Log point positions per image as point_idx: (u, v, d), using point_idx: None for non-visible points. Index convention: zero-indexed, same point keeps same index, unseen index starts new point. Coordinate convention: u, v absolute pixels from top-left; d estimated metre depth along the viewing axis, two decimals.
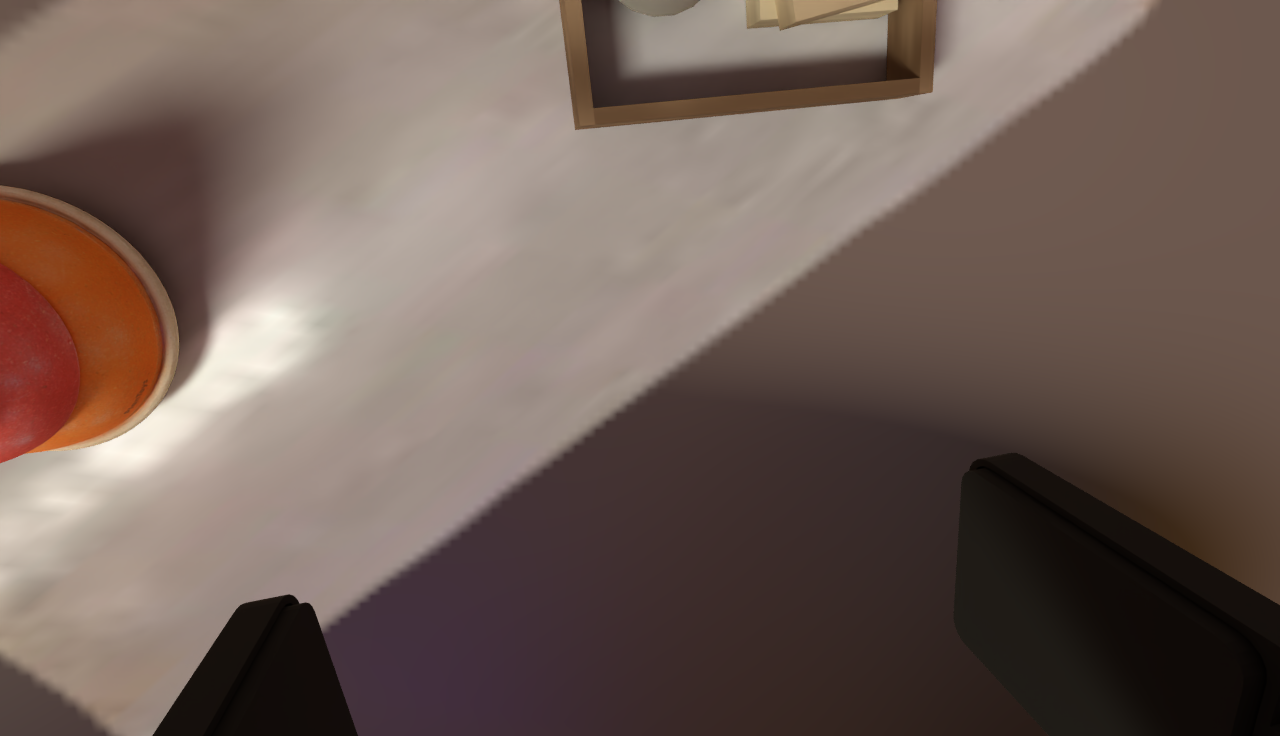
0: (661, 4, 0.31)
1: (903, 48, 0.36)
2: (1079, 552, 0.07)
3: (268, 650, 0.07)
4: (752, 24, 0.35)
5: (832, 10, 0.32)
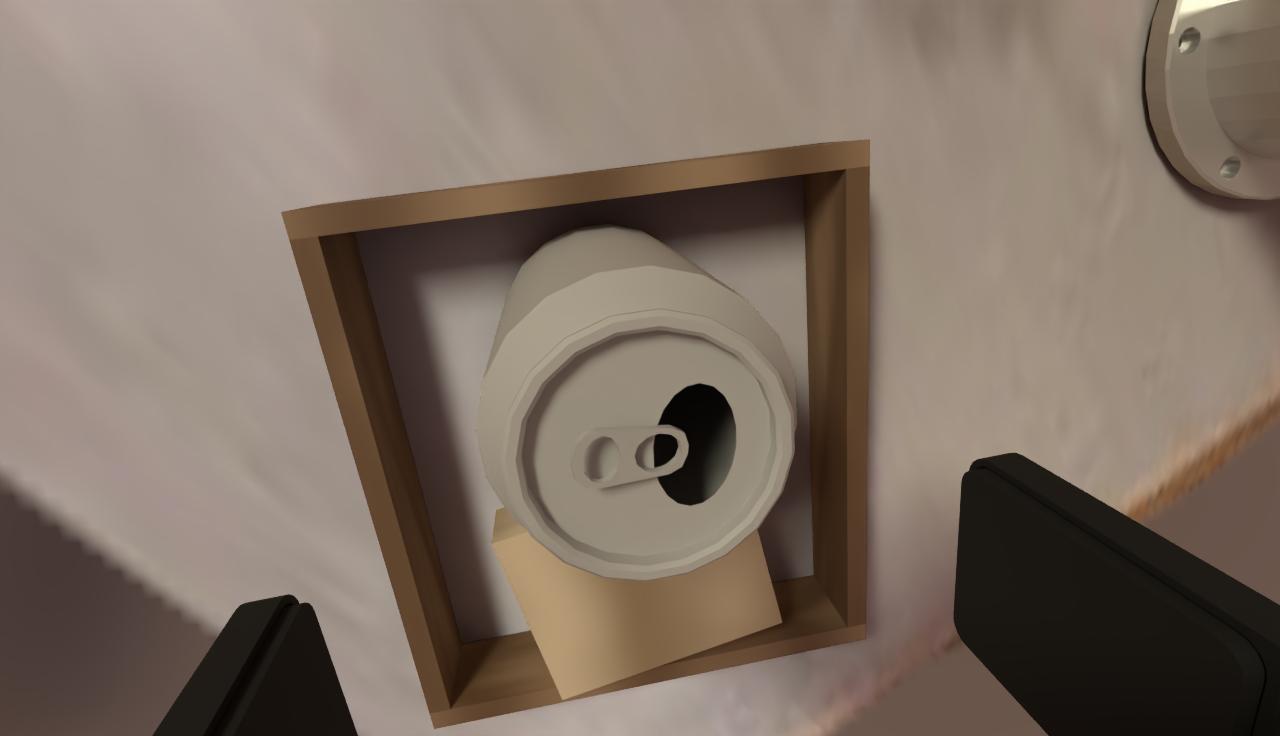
0: None
1: (498, 666, 0.26)
2: (1080, 552, 0.07)
3: (268, 650, 0.07)
4: None
5: (513, 588, 0.22)
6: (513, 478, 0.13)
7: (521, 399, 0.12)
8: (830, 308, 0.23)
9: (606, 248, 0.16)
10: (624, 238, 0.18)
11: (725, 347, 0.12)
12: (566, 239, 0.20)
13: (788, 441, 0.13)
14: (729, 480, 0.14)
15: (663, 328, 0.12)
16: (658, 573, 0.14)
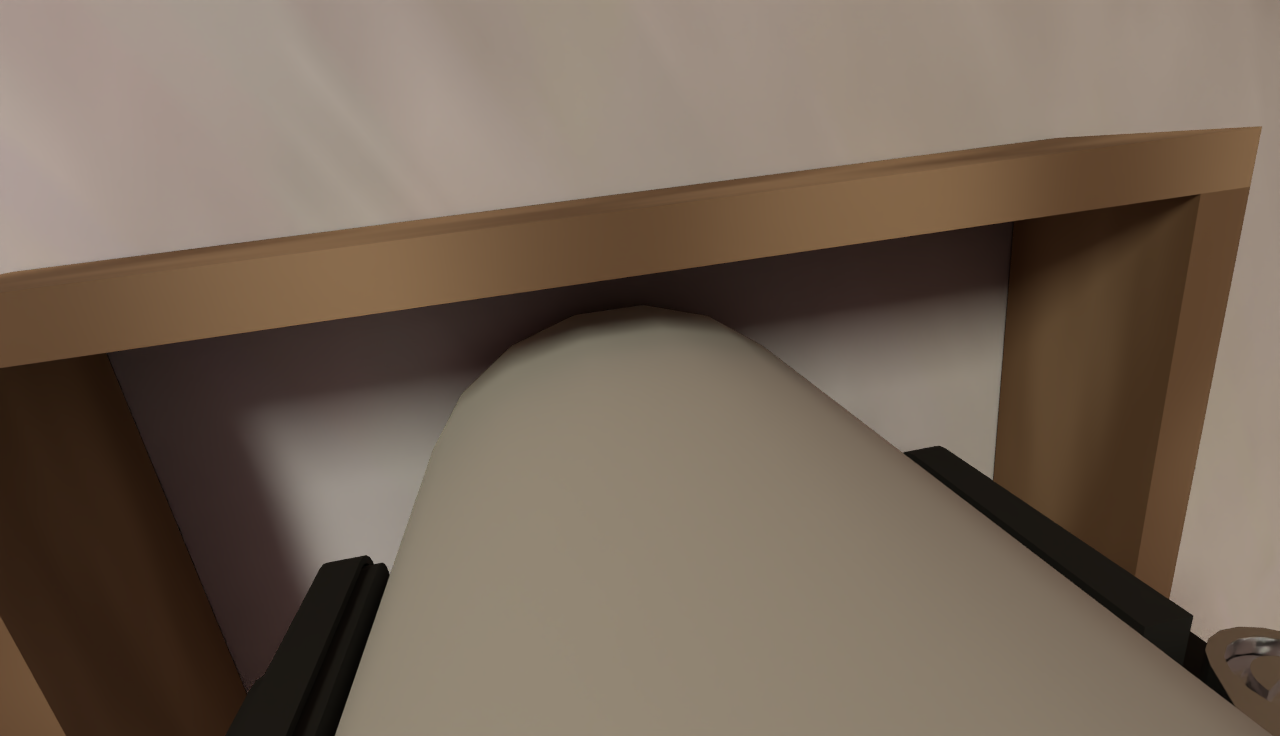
0: None
1: None
2: None
3: (356, 602, 0.07)
4: None
5: None
6: None
7: None
8: (1082, 465, 0.12)
9: (696, 478, 0.05)
10: (719, 394, 0.06)
11: None
12: (556, 359, 0.09)
13: None
14: None
15: None
16: None
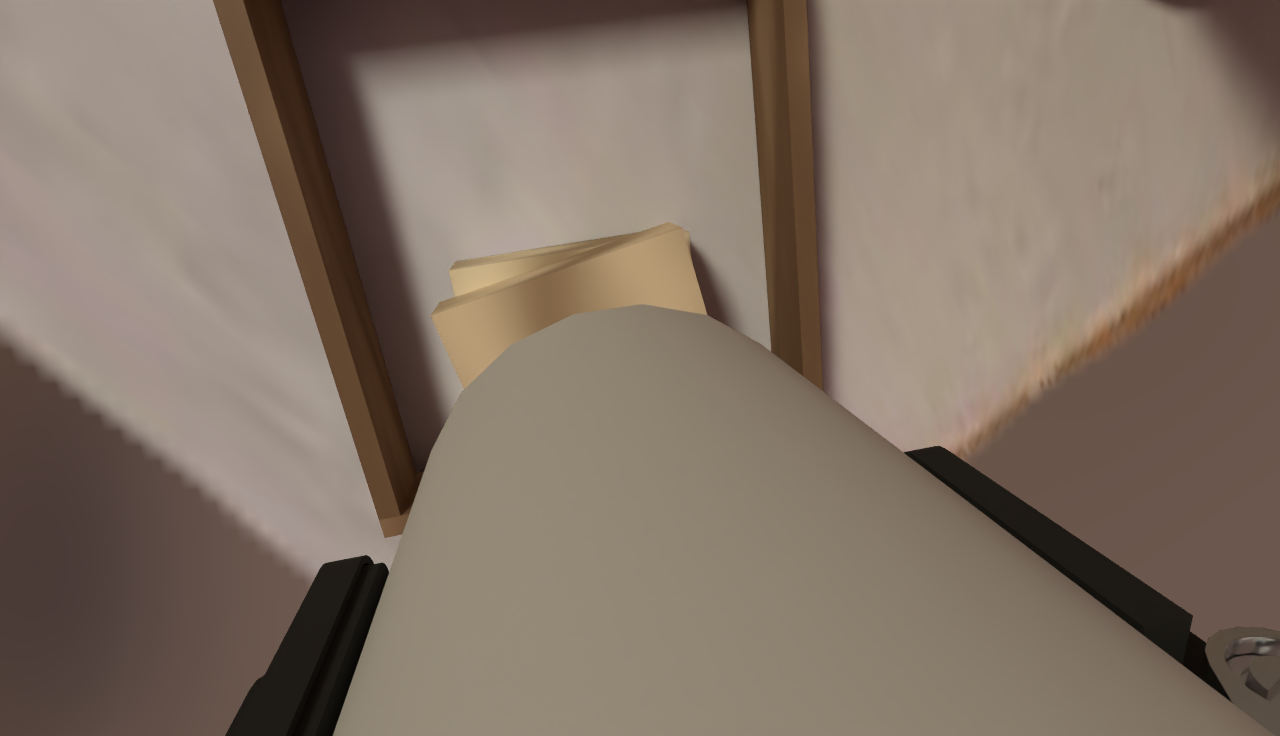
0: None
1: None
2: None
3: (356, 601, 0.07)
4: (454, 265, 0.24)
5: (456, 369, 0.22)
6: None
7: None
8: (773, 82, 0.22)
9: (694, 476, 0.05)
10: (718, 392, 0.06)
11: None
12: (555, 358, 0.09)
13: None
14: None
15: None
16: None
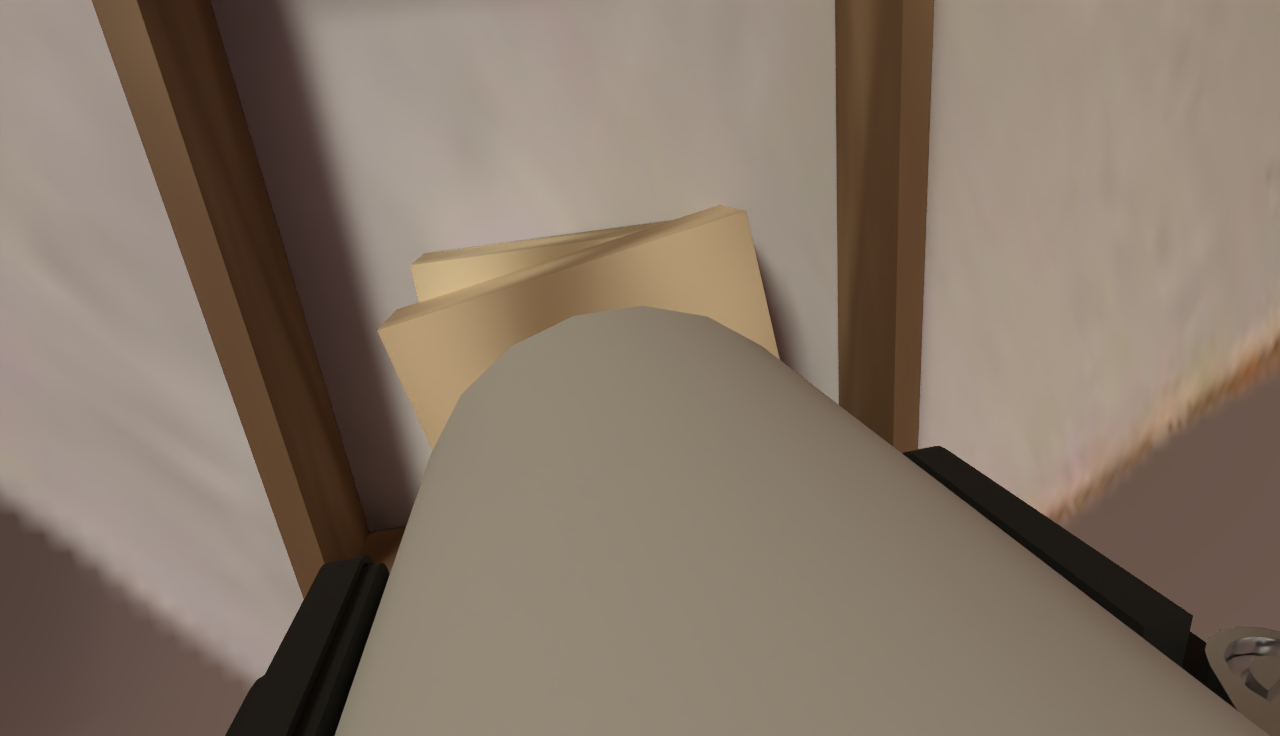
0: None
1: None
2: None
3: (356, 602, 0.07)
4: (420, 258, 0.17)
5: (415, 407, 0.15)
6: None
7: None
8: (874, 10, 0.16)
9: (695, 480, 0.05)
10: (719, 395, 0.06)
11: None
12: (556, 360, 0.09)
13: None
14: None
15: None
16: None
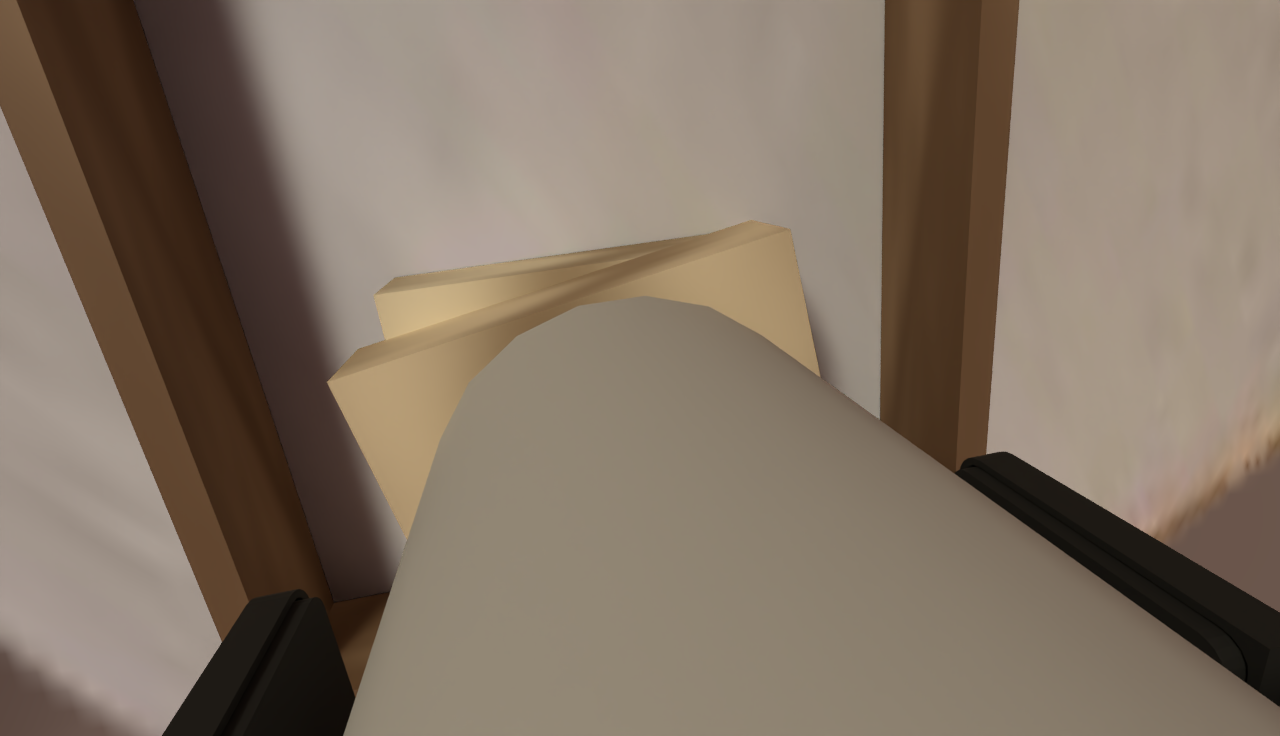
0: None
1: None
2: (1066, 550, 0.07)
3: (280, 643, 0.07)
4: (388, 284, 0.14)
5: (377, 475, 0.12)
6: None
7: None
8: None
9: (699, 449, 0.05)
10: (721, 375, 0.07)
11: None
12: (562, 346, 0.09)
13: None
14: None
15: None
16: None
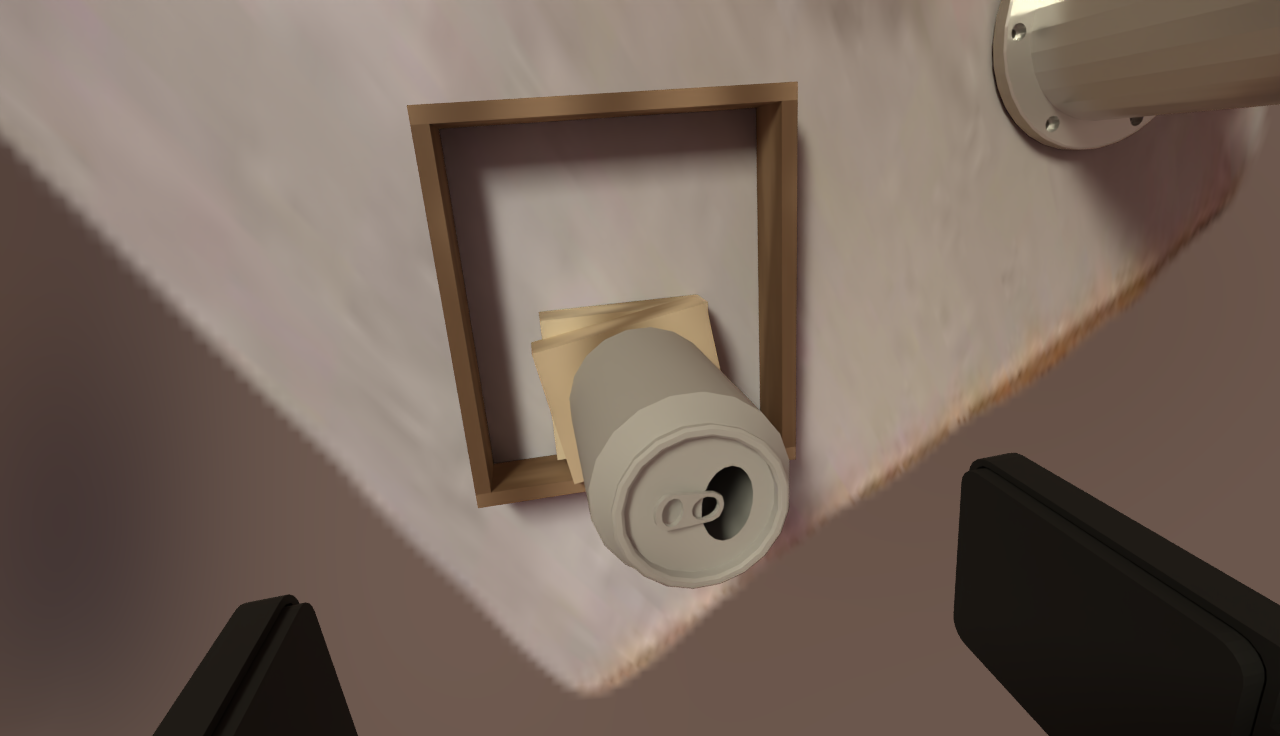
0: (573, 416, 0.28)
1: (524, 472, 0.35)
2: (1079, 552, 0.07)
3: (268, 650, 0.07)
4: (540, 315, 0.33)
5: (544, 391, 0.31)
6: (619, 523, 0.21)
7: (628, 476, 0.20)
8: (772, 205, 0.33)
9: (664, 365, 0.24)
10: (671, 352, 0.26)
11: (750, 446, 0.21)
12: (625, 343, 0.28)
13: (785, 502, 0.21)
14: (747, 525, 0.22)
15: (714, 435, 0.20)
16: (701, 583, 0.22)
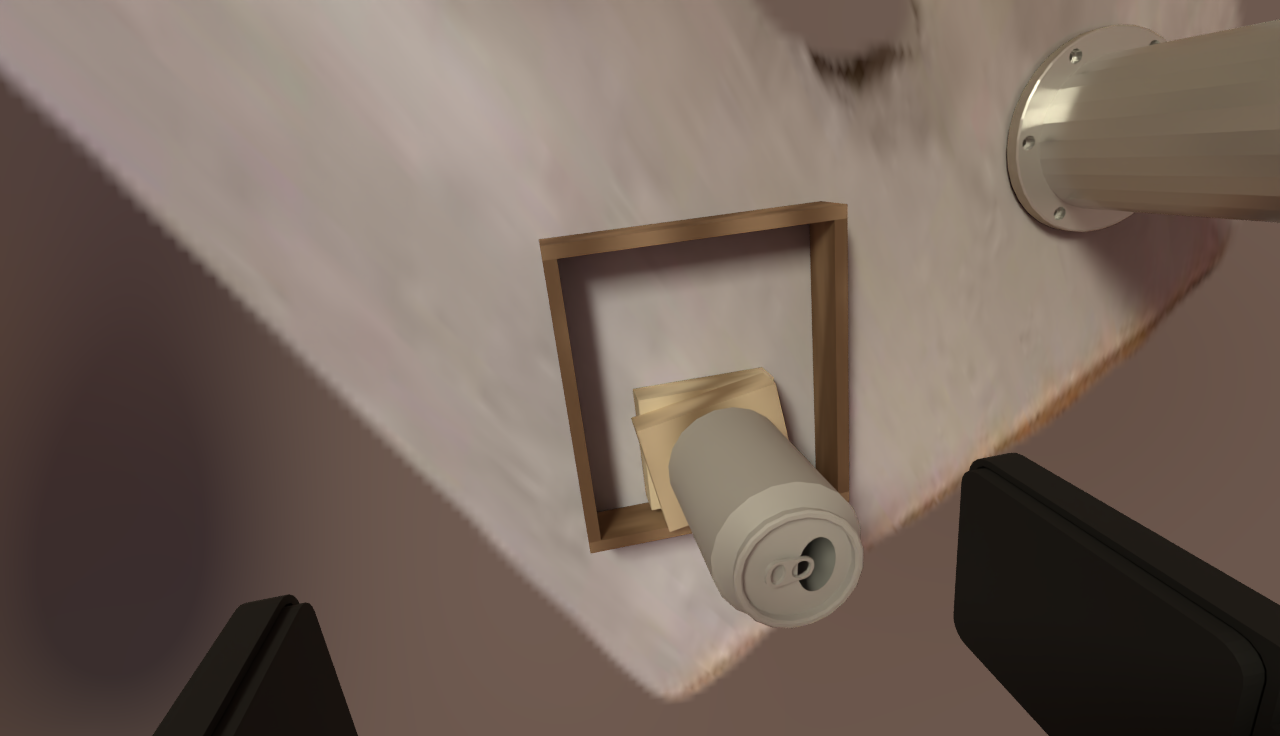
0: (678, 486, 0.35)
1: (623, 521, 0.42)
2: (1079, 552, 0.07)
3: (268, 650, 0.07)
4: (635, 393, 0.41)
5: (646, 459, 0.38)
6: (738, 584, 0.28)
7: (746, 550, 0.27)
8: (826, 297, 0.39)
9: (757, 452, 0.31)
10: (759, 437, 0.33)
11: (834, 523, 0.28)
12: (716, 426, 0.35)
13: (860, 562, 0.28)
14: (831, 579, 0.29)
15: (808, 517, 0.27)
16: (798, 624, 0.29)
